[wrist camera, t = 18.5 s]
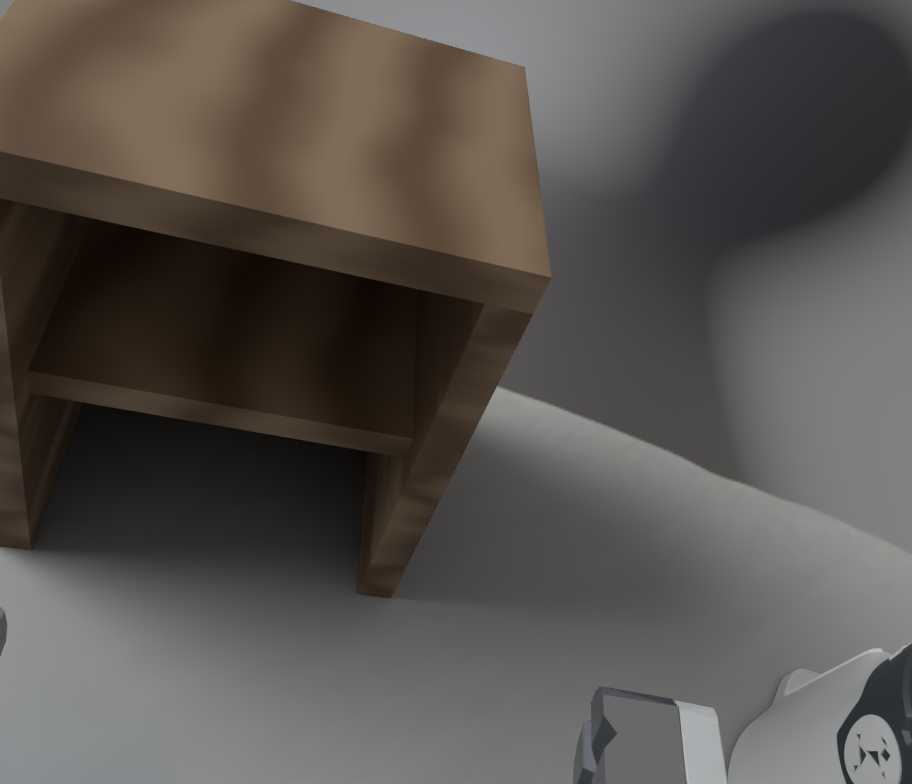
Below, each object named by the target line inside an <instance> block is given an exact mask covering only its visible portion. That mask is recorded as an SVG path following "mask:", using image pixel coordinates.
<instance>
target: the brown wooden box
mask: <svg viewBox="0 0 912 784" xmlns="http://www.w3.org/2000/svg"><path fill="white" fill-rule="evenodd" d="M550 280H551V269H550V261H549V254H548V246H547V238H546V230H545V222H544V215H543V206H542V199H541V191H540V183H539V175H538V168H537V160H536V152H535V144H534V136H533V129H532V121H531V113H530V105H529V97H528V89H527V82H526V74H525V67H522V66H519V65H515V64H512V63H508V62H505V61H501V60H498V59H494V58H491V57H487V56H484V55H480V54H477V53H473V52H470V51H466V50H463V49H459V48H456V47H452V46H449V45H445V44H441V43H438V42H434V41H431V40H427V39H423V38H420V37H417V36H414V35H410V34H407V33H403V32H399V31H396V30H392V29H389V28H385V27H382V26H378V25H374V24H371V23H368V22H364V21H361V20H357V19H354V18H350V17H347V16H343V15H340V14H336V13H332V12H329V11H326V10H322V9H319V8H315V7H311V6H308V5H305V4H301V3H297V2H294V1H291V0H15V1H14V2H13V4H12V6H11V7H10V8H9V10H8V11H7V12H6V14H5V15H4V16H3V18H2V19H1V21H0V546H7V547H14V548H22V549H29V550H31V548H32V545H33V542H34V539H35V537H36V534H37V531H38V528H39V525H40V523H41V520H42V517H43V514H44V511H45V509H46V506H47V503H48V500H49V497H50V495H51V492H52V489H53V486H54V483H55V481H56V478H57V475H58V472H59V469H60V467H61V464H62V461H63V458H64V455H65V453H66V450H67V447H68V444H69V442H70V439H71V436H72V433H73V430H74V428H75V425H76V422H77V419H78V416H79V414H80V411H81V408H82V405H83V402H84V403H90V404H95V405H101V406H107V407H113V408H119V409H124V410H130V411H136V412H142V413H148V414H153V415H159V416H165V417H171V418H177V419H182V420H188V421H194V422H200V423H206V424H211V425H217V426H223V427H229V428H235V429H241V430H246V431H252V432H258V433H264V434H270V435H275V436H281V437H287V438H293V439H299V440H304V441H310V442H316V443H322V444H328V445H333V446H339V447H345V448H351V449H357V450H362V451H367V460H366V474H365V488H364V503H363V517H362V531H361V546H360V560H359V574H358V589H357V594H363V595H371V596H378V597H386V598H391V596H392V594H393V592H394V590H395V588H396V586H397V584H398V582H399V580H400V578H401V576H402V574H403V572H404V570H405V568H406V566H407V564H408V562H409V560H410V558H411V556H412V554H413V552H414V550H415V548H416V546H417V544H418V542H419V540H420V538H421V536H422V534H423V532H424V530H425V528H426V526H427V524H428V522H429V520H430V518H431V516H432V514H433V512H434V510H435V508H436V506H437V504H438V502H439V500H440V498H441V496H442V494H443V492H444V490H445V488H446V486H447V484H448V482H449V480H450V478H451V476H452V474H453V472H454V470H455V468H456V466H457V465H458V463H459V461H460V459H461V457H462V455H463V453H464V451H465V449H466V447H467V445H468V443H469V441H470V439H471V437H472V435H473V433H474V431H475V429H476V427H477V425H478V423H479V421H480V419H481V417H482V415H483V413H484V411H485V409H486V407H487V405H488V403H489V401H490V399H491V397H492V395H493V393H494V391H495V389H496V387H497V385H498V383H499V381H500V379H501V377H502V375H503V373H504V371H505V369H506V367H507V365H508V363H509V361H510V359H511V357H512V355H513V353H514V351H515V349H516V347H517V345H518V343H519V341H520V339H521V337H522V335H523V333H524V331H525V329H526V327H527V325H528V323H529V321H530V319H531V317H532V315H533V313H534V311H535V309H536V307H537V305H538V303H539V301H540V299H541V298H542V295H543V294H544V291H545V290H546V288H547V286H548V283H549V281H550Z"/></svg>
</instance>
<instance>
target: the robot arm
mask: <svg viewBox="0 0 912 784" xmlns="http://www.w3.org/2000/svg"><path fill="white" fill-rule="evenodd" d="M6 635H7V620H6V615H5V612H4V611H3V610H2V609H1V607H0V656H1V653H2V650H3V647H4V645H5V642H6ZM573 784H912V641H911V642H909V643H908V644H906V645H904V646H903V647H901V648H899V649H898V650H897V651H895V653H894V654H893V653H888V652H884V651H883V650H882V649H880V648H876V649H870V650H867V651H865V652H863V653H861V654H859V655H857V656H855V657H853V658H852V659H850V660H848V661H846V662H844V663H842V664H840V665H838V666H836V667H834V668H833V669H831V670H829V671H827V672H825V673H823V674H820V673H817V672H814V671H811V670H807V669H796V670H794V671H792V672H790V673H788V674H787V675H785V676H784V678H783V679H782V681H781V683H780V685H779V687H778V690H777V693H776V696H775V699H774V702H773V704H772V705H771V706H770V708H769V709H767V710H766V711H765V712H764V713H763V714H761V715H760V716H759V717H757V718H756V719H755V720H753V721H752V722H751V723H750V724H749V725H748V726H747V728H746V729H745V730H744V731H743V733H742V734H741V736H740V737H739V739H738V741H737V743H736V745H735V748H734V750H733V753H732V756H731V760H730V764H729V770H728V778H727V772H726V765H725V759H724V752H723V746H722V740H721V733H720V727H719V720H718V715H717V714H716V712H715V710H714V708H711V707H707V706H701V705H696V704H691V703H685V702H680V701H673V700H672V699H669V698H664V697H658V696H652V695H647V694H641V693H635V692H630V691H624V690H618V689H613V688H607V687H602V686H600V687H599V688H598V689H597V690H596V692H595V694H594V697H593V700H592V702H591V720H590V721H588V722H586V723H584V724H583V727H582V730H581V733H580V736H579V739H578V744H577V749H576V755H575V760H574V773H573Z"/></svg>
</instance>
